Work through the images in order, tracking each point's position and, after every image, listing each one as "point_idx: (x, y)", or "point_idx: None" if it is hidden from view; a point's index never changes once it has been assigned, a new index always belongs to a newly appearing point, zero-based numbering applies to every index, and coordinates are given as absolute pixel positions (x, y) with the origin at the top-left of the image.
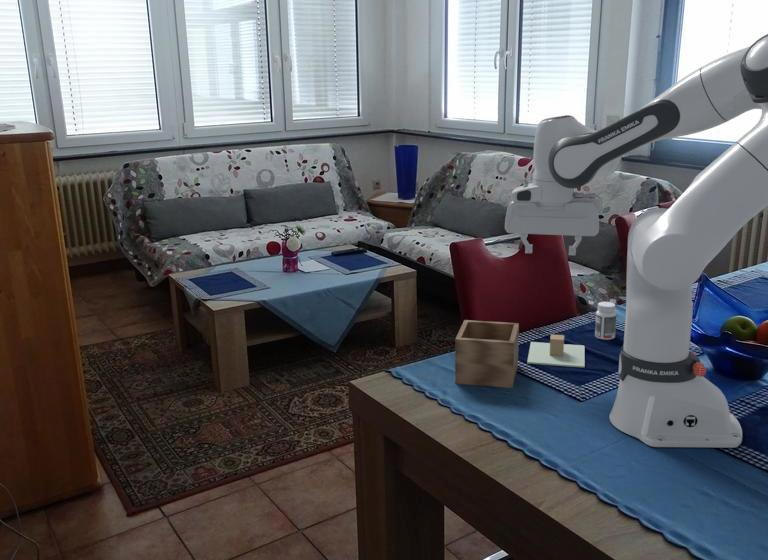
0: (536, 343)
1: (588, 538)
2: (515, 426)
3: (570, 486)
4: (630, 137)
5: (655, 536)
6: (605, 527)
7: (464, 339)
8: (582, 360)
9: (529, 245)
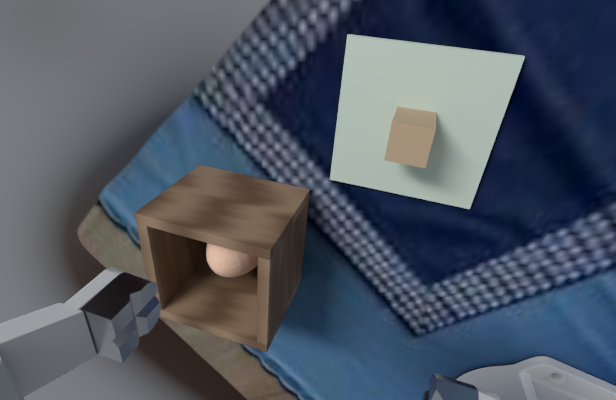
0: (363, 48)
1: None
2: (306, 373)
3: None
4: None
5: None
6: None
7: (170, 319)
8: (475, 176)
9: (102, 347)
